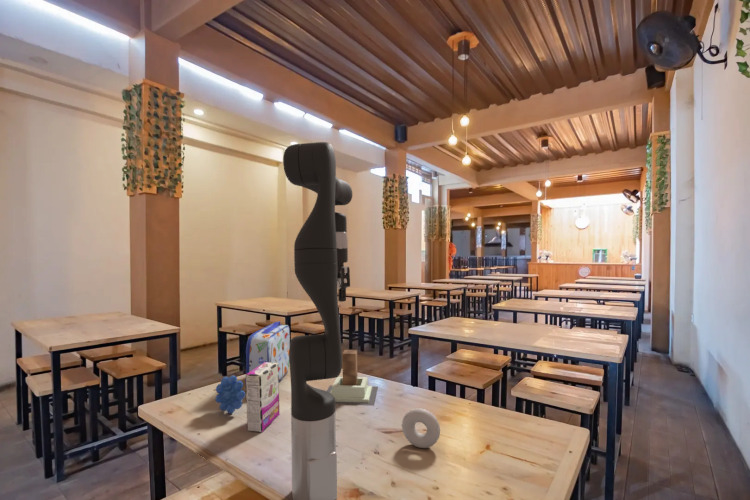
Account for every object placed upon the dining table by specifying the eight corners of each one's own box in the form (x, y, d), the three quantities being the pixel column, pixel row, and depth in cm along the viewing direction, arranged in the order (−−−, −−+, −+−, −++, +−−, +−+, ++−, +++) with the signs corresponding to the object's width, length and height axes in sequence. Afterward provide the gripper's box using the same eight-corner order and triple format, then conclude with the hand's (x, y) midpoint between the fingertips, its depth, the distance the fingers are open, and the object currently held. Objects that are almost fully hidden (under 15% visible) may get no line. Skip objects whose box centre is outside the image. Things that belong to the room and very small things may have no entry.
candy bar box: (265, 413, 115) (264, 361, 115) (280, 415, 114) (279, 362, 114) (245, 431, 104) (244, 373, 104) (261, 433, 103) (261, 374, 103)
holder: (372, 388, 134) (372, 376, 134) (368, 402, 122) (368, 389, 122) (334, 387, 135) (333, 375, 135) (326, 401, 123) (326, 387, 123)
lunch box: (269, 369, 157) (268, 317, 157) (293, 369, 157) (292, 317, 156) (241, 395, 130) (241, 332, 130) (270, 395, 129) (269, 332, 129)
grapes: (254, 410, 117) (254, 372, 117) (238, 419, 111) (238, 380, 111) (227, 404, 122) (226, 368, 122) (210, 413, 116) (209, 375, 116)
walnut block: (357, 389, 130) (357, 350, 130) (355, 394, 126) (355, 353, 126) (344, 389, 131) (344, 349, 130) (342, 394, 126) (342, 353, 126)
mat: (378, 387, 136) (378, 386, 135) (374, 406, 120) (374, 405, 120) (329, 386, 137) (329, 385, 137) (319, 404, 121) (319, 403, 121)
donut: (400, 447, 95) (400, 408, 95) (404, 440, 98) (403, 403, 98) (438, 454, 92) (438, 414, 92) (441, 447, 95) (441, 408, 95)
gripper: (315, 247, 118) (315, 298, 118) (334, 246, 106) (334, 303, 106) (336, 247, 122) (336, 296, 122) (357, 246, 110) (357, 301, 110)
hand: (336, 299), depth 114 cm, fingers open, 8 cm apart
